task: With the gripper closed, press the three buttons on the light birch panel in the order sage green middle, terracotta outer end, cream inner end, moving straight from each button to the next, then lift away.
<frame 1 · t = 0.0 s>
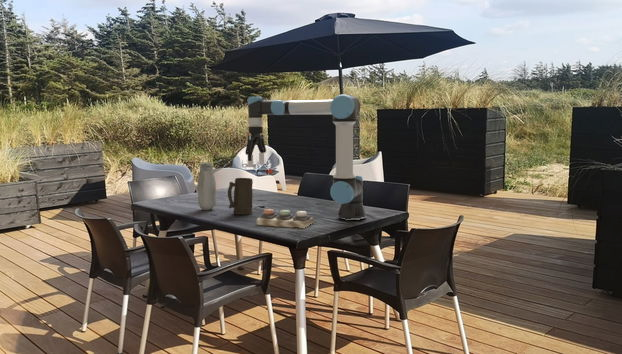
hand: (256, 165, 275), 28 cm above the table, tool pointing down, fingers open, 13 cm apart
sage button: (284, 212, 260), point 6 cm above the table, slide at 0.0 cm
beer stein: (240, 214, 288), on the table
glass bottle: (207, 210, 302), on the table
button panel: (285, 224, 260), on the table
terracotta button: (268, 211, 263), point 6 cm above the table, slide at 0.0 cm
cream button: (301, 213, 257), point 6 cm above the table, slide at 0.0 cm
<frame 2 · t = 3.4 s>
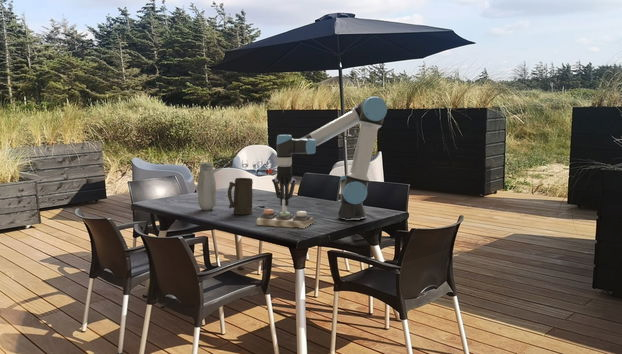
hand: (284, 212, 260), 6 cm above the table, tool pointing down, fingers closed
sage button: (285, 214, 260), point 5 cm above the table, slide at 0.8 cm, touching gripper
everything else where it was.
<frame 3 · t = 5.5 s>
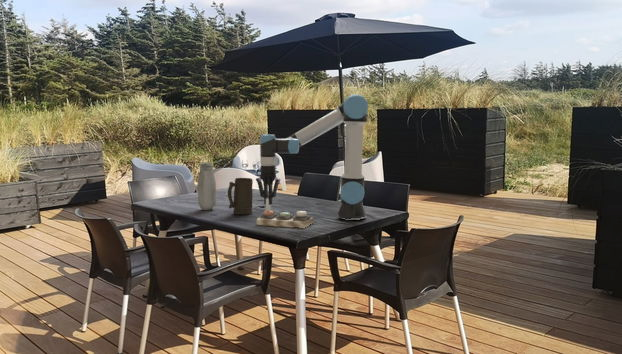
hand: (268, 210, 263), 6 cm above the table, tool pointing down, fingers closed
sage button: (285, 215, 260), point 5 cm above the table, slide at 1.1 cm
terracotta button: (268, 213, 263), point 5 cm above the table, slide at 0.7 cm, touching gripper
everything else where it was.
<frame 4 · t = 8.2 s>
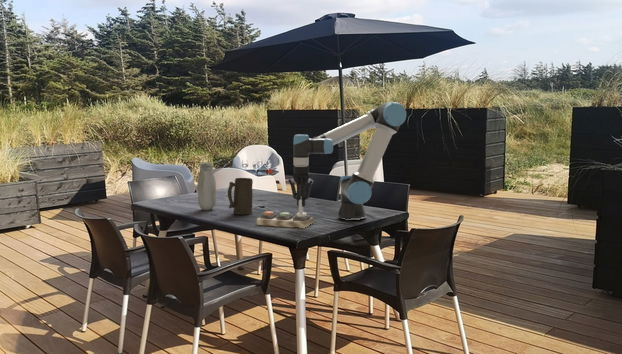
hand: (301, 212, 257), 6 cm above the table, tool pointing down, fingers closed
terracotta button: (268, 214, 263), point 5 cm above the table, slide at 1.1 cm
cream button: (301, 215, 257), point 5 cm above the table, slide at 0.7 cm, touching gripper
everything else where it was.
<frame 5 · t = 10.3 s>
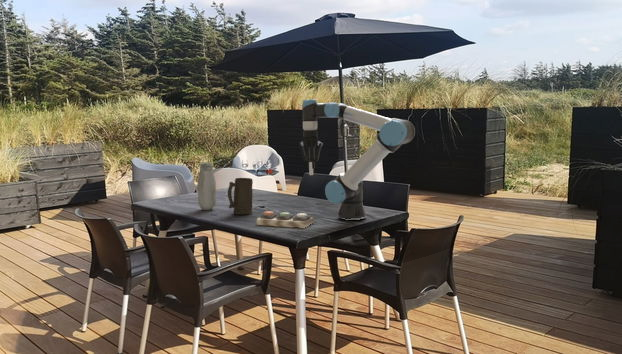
hand: (311, 174, 269), 24 cm above the table, tool pointing down, fingers closed
cream button: (301, 216, 257), point 5 cm above the table, slide at 1.2 cm
everything else where it was.
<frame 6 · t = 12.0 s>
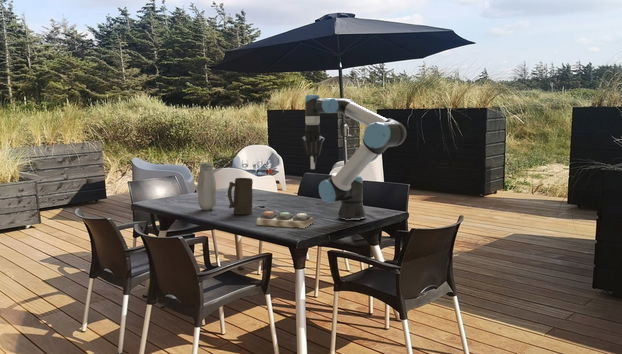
hand: (312, 168, 273), 26 cm above the table, tool pointing down, fingers closed
nothing on the table moved.
at the end: sage button slide at 1.1 cm; terracotta button slide at 1.1 cm; cream button slide at 1.2 cm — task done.
